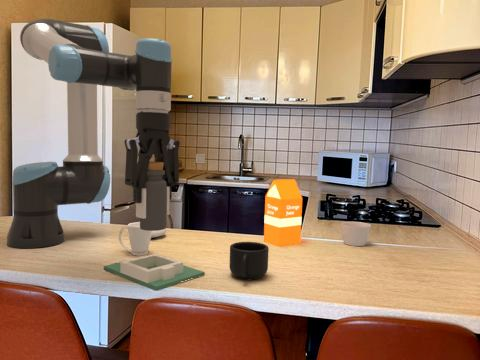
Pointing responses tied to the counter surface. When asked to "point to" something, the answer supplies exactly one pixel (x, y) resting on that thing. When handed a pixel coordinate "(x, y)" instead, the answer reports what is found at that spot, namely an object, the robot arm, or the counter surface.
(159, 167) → the bottle
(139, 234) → the cup
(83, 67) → the robot arm
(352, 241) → the candle
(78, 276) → the counter surface
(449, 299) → the counter surface
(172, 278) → the board
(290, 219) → the orange juice
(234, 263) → the mug
